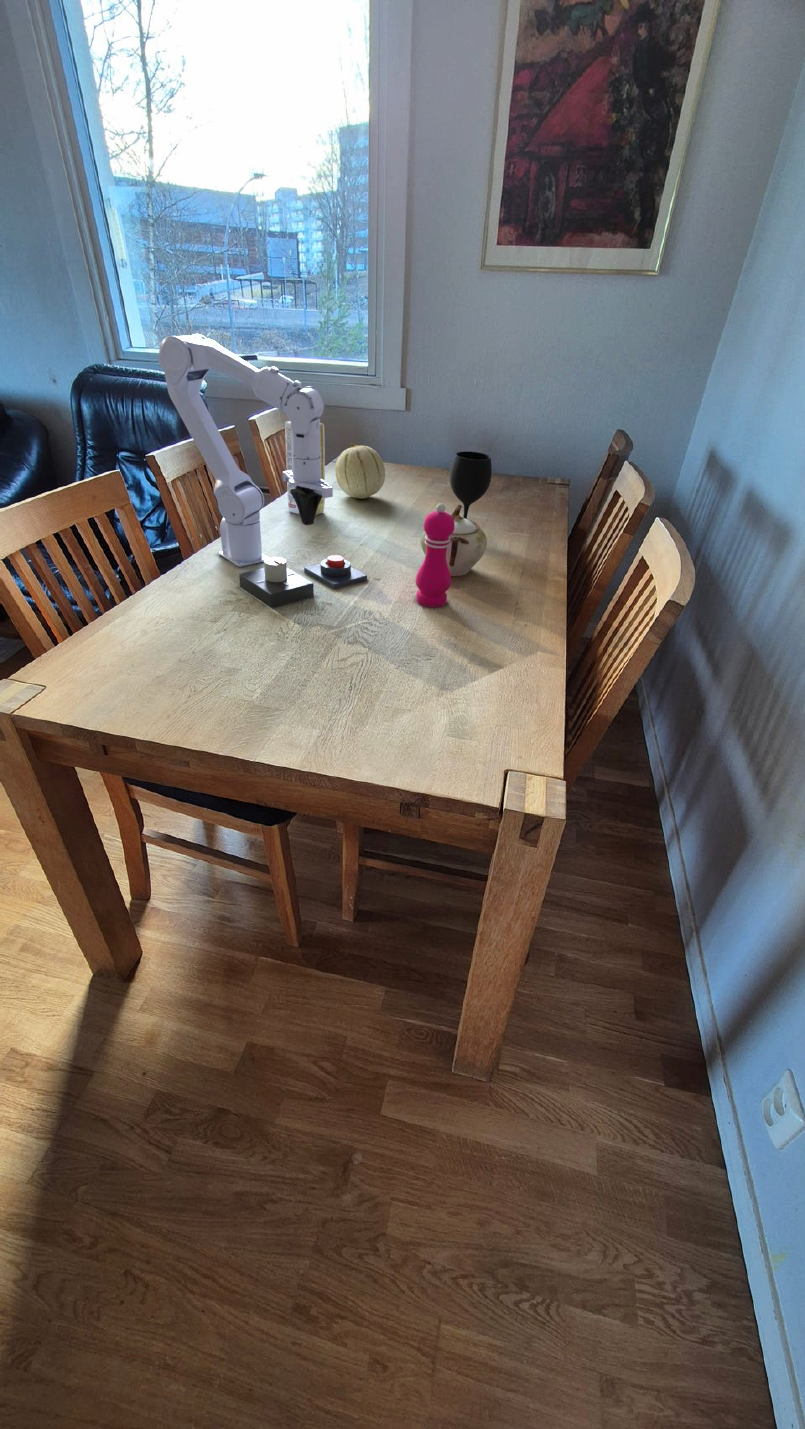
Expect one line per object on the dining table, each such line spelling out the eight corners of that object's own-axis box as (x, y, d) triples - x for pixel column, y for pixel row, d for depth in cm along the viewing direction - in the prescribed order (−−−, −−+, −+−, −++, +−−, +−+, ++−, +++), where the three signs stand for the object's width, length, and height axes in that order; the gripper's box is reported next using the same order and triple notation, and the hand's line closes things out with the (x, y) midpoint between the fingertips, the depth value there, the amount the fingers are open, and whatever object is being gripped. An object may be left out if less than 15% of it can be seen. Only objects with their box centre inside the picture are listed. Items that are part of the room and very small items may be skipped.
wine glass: (438, 537, 160) (446, 456, 149) (450, 526, 168) (459, 448, 157) (476, 544, 158) (487, 463, 146) (486, 533, 166) (498, 454, 154)
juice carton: (328, 512, 171) (328, 418, 157) (310, 519, 165) (308, 422, 151) (302, 505, 174) (300, 412, 161) (283, 511, 169) (280, 416, 155)
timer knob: (260, 576, 124) (259, 558, 122) (279, 572, 127) (278, 554, 125) (272, 584, 122) (271, 565, 120) (291, 579, 124) (290, 560, 122)
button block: (304, 572, 135) (303, 559, 134) (336, 564, 141) (336, 551, 139) (334, 589, 129) (334, 576, 127) (367, 580, 134) (367, 567, 133)
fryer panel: (240, 587, 127) (238, 572, 125) (281, 577, 133) (280, 563, 131) (271, 608, 120) (270, 593, 118) (313, 596, 126) (313, 582, 124)
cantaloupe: (383, 506, 179) (385, 452, 170) (332, 502, 178) (332, 447, 170) (384, 492, 191) (387, 440, 182) (337, 488, 190) (338, 436, 182)
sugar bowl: (483, 589, 135) (494, 521, 126) (415, 583, 135) (421, 514, 126) (481, 557, 151) (490, 494, 142) (420, 551, 151) (426, 488, 142)
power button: (323, 563, 133) (323, 557, 132) (337, 560, 135) (337, 553, 135) (333, 569, 131) (333, 562, 130) (347, 565, 133) (347, 559, 132)
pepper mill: (452, 597, 130) (464, 502, 118) (443, 611, 124) (454, 511, 113) (419, 591, 131) (428, 496, 120) (409, 604, 126) (417, 505, 114)
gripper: (268, 450, 125) (272, 517, 132) (312, 466, 116) (313, 537, 124) (297, 447, 129) (299, 512, 137) (341, 462, 120) (340, 530, 128)
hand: (308, 523), depth 131 cm, fingers closed
